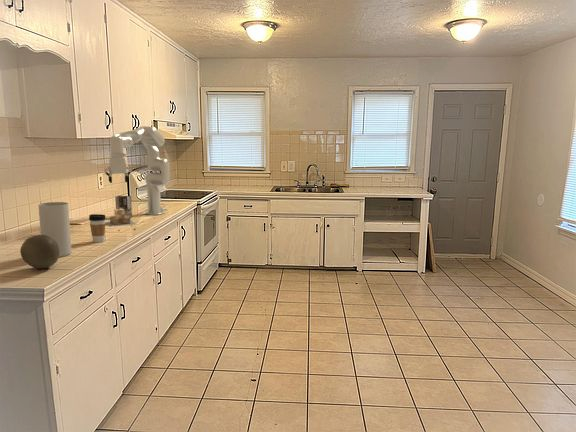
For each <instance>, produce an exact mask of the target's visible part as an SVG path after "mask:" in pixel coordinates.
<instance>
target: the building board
mask: <svg viewBox="0 0 576 432" xmlns="http://www.w3.org/2000/svg"><path fill="white" fill-rule="evenodd" d="M105 225H107V226H108V227H109V228H110V227H121V226H131V225H137V223H136V222H134V221H133V220H132V219H130V224H121V225H113V224H112V223H110V221H105Z"/></svg>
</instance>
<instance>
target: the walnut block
mask: <svg viewBox="0 0 576 432" xmlns="http://www.w3.org/2000/svg"><path fill="white" fill-rule="evenodd" d="M130 220H131V217H128V216H126V215H125V217H122V218H116V217H115V215H113V216H109V222H110V223H112V224H113V225H121V224H130Z"/></svg>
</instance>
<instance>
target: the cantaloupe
mask: <svg viewBox="0 0 576 432" xmlns="http://www.w3.org/2000/svg"><path fill="white" fill-rule="evenodd" d="M19 250H20V256H21V258H22V260H23V261H24V262H25V263H26V264H27V265H28V266H30V267H32V268H34V269H37V270H38V269H39V270H43V269H48V268H50V267H52V266H53V265H55V264H56V263H57V262H58V260H59V258H60V257H59V254H60V251H59V246H58V244H57V242H56V241H55V240H54V239H52V238H51V237H49V236H47V235H41V234H36V235H32V236H30V237H28V238H26V239H25V240H24V241H23V243H22V245H21V246H20V249H19Z"/></svg>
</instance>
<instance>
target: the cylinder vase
mask: <svg viewBox="0 0 576 432" xmlns="http://www.w3.org/2000/svg"><path fill="white" fill-rule="evenodd" d="M37 205H38V215H39V217H38V219H39V228H40V229H39V231H40V235H47V236H49V237H51V238H52V239H54V240H55V241H56V242H57V244H58V246H59V251H60V254H59V258H62V257H63V258H64V257H66V256H68V255H70V254H71V253H72V240H71V239H72V238H71V227H70V226H71V225H70V211H69V210H70V209H69V202H64V201H53V202H50V201H49V202H43V203H38V204H37Z"/></svg>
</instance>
